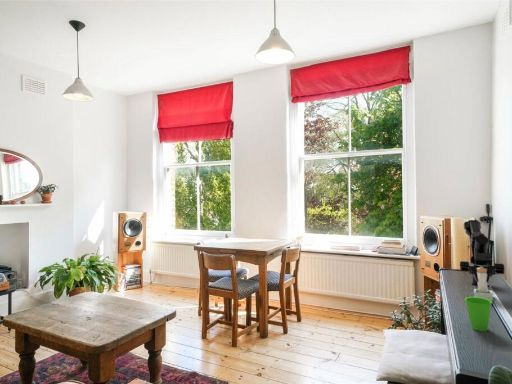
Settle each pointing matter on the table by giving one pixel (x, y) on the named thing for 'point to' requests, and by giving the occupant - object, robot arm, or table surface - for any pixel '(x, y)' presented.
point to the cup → (479, 312)
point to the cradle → (484, 294)
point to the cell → (482, 280)
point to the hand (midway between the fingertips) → (482, 281)
